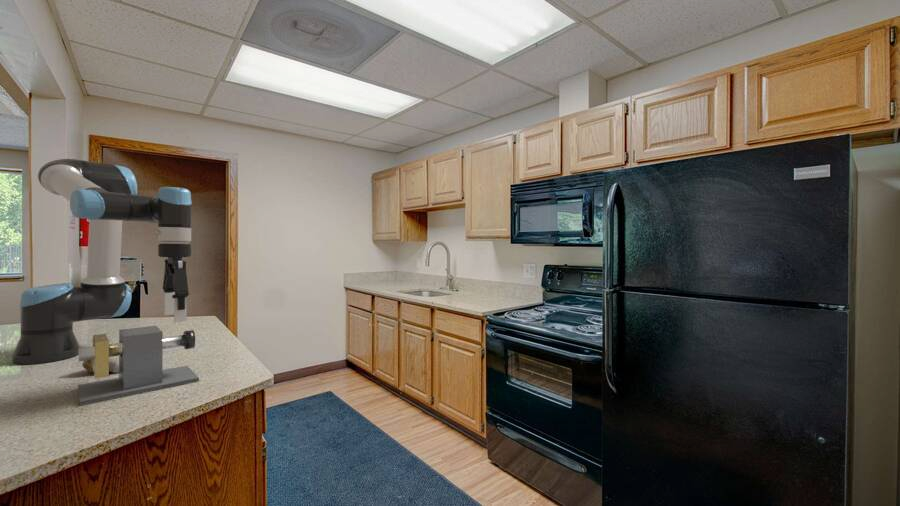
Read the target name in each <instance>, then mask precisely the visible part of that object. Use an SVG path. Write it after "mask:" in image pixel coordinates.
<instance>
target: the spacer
mask: <svg viewBox="0 0 900 506" xmlns="http://www.w3.org/2000/svg"><path fill="white" fill-rule="evenodd" d="M109 344H110V340H109V338H108V336H107V334H106V333H100V334H93V335H92V347H93V346H94V348H95V359H93V372H92V373H93V376H94V379H101V378H108V377H109V376H110V375H109V374H110V373H109V372H110V371H109Z"/></svg>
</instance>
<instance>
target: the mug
mask: <svg viewBox="0 0 900 506" xmlns="http://www.w3.org/2000/svg"><path fill="white" fill-rule="evenodd" d="M82 368H84V369H85V370H86V371H88V372H90V373H94V372H93V359H92V360H85V361H82ZM109 372H110V373H114V374H119V373H118V372H119V356H113V357H109Z"/></svg>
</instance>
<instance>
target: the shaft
mask: <svg viewBox="0 0 900 506" xmlns="http://www.w3.org/2000/svg"><path fill="white" fill-rule="evenodd" d="M195 346H196V334H195V330H193V329H191V330H184V331H183V333H182V334H180V335H171V336H165V337H164V336H163V350H166V349H173V348H179V347H183V348H184V350H190V349H195ZM119 355H122V343H119V342H117V343H116V342H115V343H109V357H113V356H117V357H119ZM92 359H95V348H94V346H93V345H92V346H86V347H80V348H79V354H78V362H83V361H85V360H92Z"/></svg>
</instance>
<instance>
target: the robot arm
mask: <svg viewBox="0 0 900 506" xmlns="http://www.w3.org/2000/svg"><path fill="white" fill-rule="evenodd" d="M37 179H38V182H39V184H40V185H41V187H43V188H44V189H45V190H46V191H48V192H49V193H51V194H53V195H56V196H61V197H63V199H66V200H67V201H69V208H70V211H71V214H72V215H73V216H74V217H76V218H78V219H86V220H89V222H88V223H89V224H88V240H87V241H88V243H87V244H88V247H87V269H86V276H85V277H84V278H83V279H81V280H80V286H75V287H74V285H73V284H72V283H55V284H54V283H53V284H46V285H41V286H36V287H35V286H34V287H31V288H27V289H26V290H24V291H23V292H22V293H21V295H20V301H19V302H20V303H19V307H20V337H19V340H18V342H17V344H16V346H15V349H14V350H13V353H12V358H11V360H12V363H13V364H16V365H35V364H43V363H44V364H45V363H46V364H47V363H50V362H56V361H61V360H67V359H70V358H73V357H76V356H77V355H78V356H79V348H81V346H80V344H79V341H78V339H77V337H76V335H75V333H74V330H73V328H74V327H73V326H74V322H75V323H76V322H84V321H91V320H92V321H93V320H100V319H110V318H114V317H121V316H123V315H124V314H125V313H126V312H128V310H129V308H130V306H131V302H132V288H131V286H130V285H129V284H126V281H125V279H124V278H123V277H122V276H120V275H121V256H122V255H121V254H122V239H123V238H122V235H123V233H122V232H123V221H124V222H125V221H126V222H140V223H141V222H143V223H145V222H146V223H150V224H152V223H153V224H157V226H158V230H156V231H155V234H156V235H158V242H161V243H158V246H157V247H158V249H157V251H158V253H157V255H158V257H161V258H166V259H164V272H163V283H162V290H163V292H164V293H163V294H164V295H163V296H164V297H163V302H164V303H163V304H164V305H163V307H164V308H163V313H164V314H163V315H164V316H172V315H173V322H174V323H183V322H187V320H188V319H187V318H188V317H187V315H188V314H187V313H188V312H187V308H188V307H187V305H188V304H187V302H188V301H187V300H188V298H187V297H189V295H190V291H189V285H188V283H189V282H188V277H187V275H188V274H187V262H186V260H183V258H189V257H191V256H192V245H191V243H190V242H192V202H193V201H192V196H191V190H189V189H188V188H184V187H175V186H174V187H173V186H163V187H159V188H158V190H157V191H158V192H157V196H154V195H144V194H143V195H142V194H138V183H137V179H136V176H135V175H134V173H133V172H132V170H131V169H130V168H128V167H126V166H121V165H116V164H112V163H111V164H109V163H103V162H96V161H89V160H83V159H82V160H81V159H77V158H76V159H75V158H60V159H59V158H58V159H55V160H51V161H48V162H47V163H45V164H44V165H42V166H41V167H40V168H39V170H38V174H37Z"/></svg>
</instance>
